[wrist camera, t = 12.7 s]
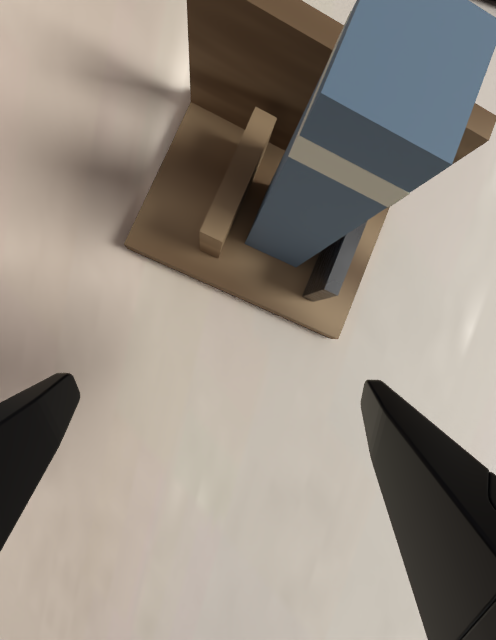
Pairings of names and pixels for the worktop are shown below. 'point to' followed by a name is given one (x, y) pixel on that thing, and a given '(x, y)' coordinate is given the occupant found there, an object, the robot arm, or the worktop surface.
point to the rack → (254, 161)
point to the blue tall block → (376, 121)
